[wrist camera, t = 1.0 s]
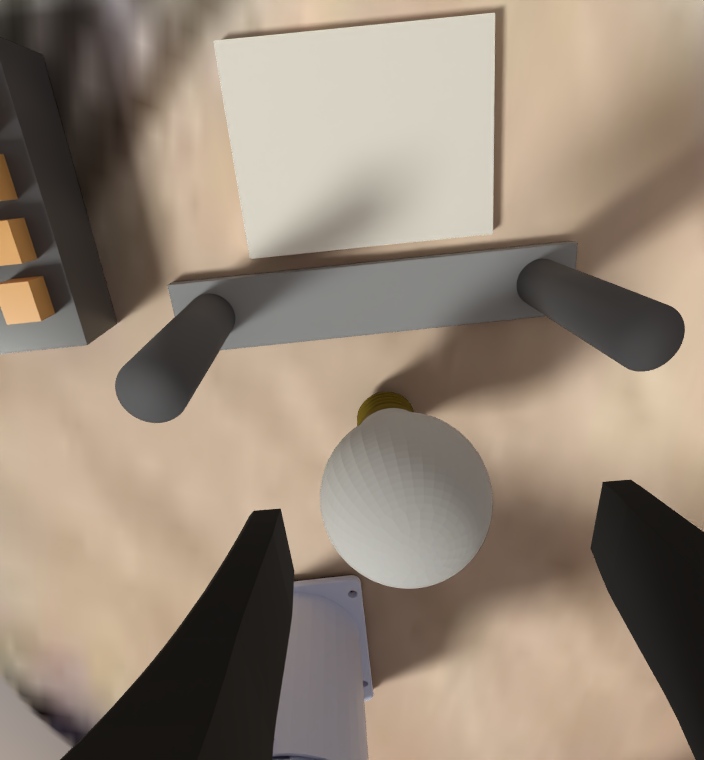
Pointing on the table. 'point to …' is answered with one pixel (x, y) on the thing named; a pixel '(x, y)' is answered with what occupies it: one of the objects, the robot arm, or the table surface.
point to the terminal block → (42, 220)
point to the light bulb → (405, 496)
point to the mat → (362, 133)
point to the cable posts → (390, 313)
